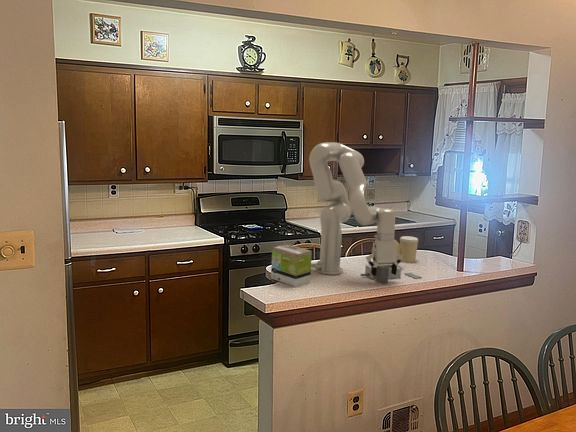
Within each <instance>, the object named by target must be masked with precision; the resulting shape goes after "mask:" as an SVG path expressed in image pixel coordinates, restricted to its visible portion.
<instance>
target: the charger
mask: <svg viewBox="0 0 576 432" xmlns="http://www.w3.org/2000/svg"><path fill="white" fill-rule="evenodd" d="M388 276H389V268H388V267H387V266H385V265H384V266H377V271H376V280H375V282H376V281H377V283H378V284H379V283H383V284H389V279H388Z"/></svg>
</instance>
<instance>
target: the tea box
mask: <svg viewBox="0 0 576 432" xmlns="http://www.w3.org/2000/svg"><path fill="white" fill-rule="evenodd" d="M312 255H313V253H312V250H311V249H310V250H309V249H306V248H303V247H299V246H295V245H291V244H283V245H278V246H274V247H271V267H270V269H271V272H270V273H271V274H270V279H271V280H274V281H277V282H280V283H284V284H286V285H289V286H291V287H294V288H297V287H301V286H303V285H307V284H310V283H311V271H312V267H311V263H312Z"/></svg>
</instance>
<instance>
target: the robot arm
mask: <svg viewBox="0 0 576 432" xmlns="http://www.w3.org/2000/svg"><path fill="white" fill-rule="evenodd" d="M308 160H309V166H310V170H311V173H312V177H313V181H314V185H315V186H314V187H315V189H316V194H317V197H318V200H320V201H321V202H323V203H330V204H328V205H326V206H324V207H323V208H322V210H321V211H320V217H319V219H320V226H321V228H320V229H321V230H320V234H321V235H320V254H319V260H317V262H315V263H314V262H311V268H314V269H315V271H316V272H317V273H319V274H323V275H329V276H330V275H333V276H334V275H340V274H343V273H344V269H343V268H342V267H341V255H342V254H341V252H342V238H343V237H342V236H343V232H342V227H341V224H342V223H345V222H347V221H348V220H349V219H350V218H351V214H353V217H354V219H355V220H356V222H357V223H358V224H360V225H361V226H369V225H372V224H377V226H376V234H374V238H375V240H374V244H373V245H374V249H373V253H372V252H371V254H369V255H367V256H366V258H365V259H366V261H367V263H368V265H370V266H371V274H372V275H373V276H376V271H377V268H376V265H379V264H378V263H393V264H392V269H391V273H392V274H394V275H396V272H397V267H399V264H400V263H401V262H402V261H401V259H402V257H403V256H402V255H401V254H399V253H397V243H396V241H397V240H396V239H395V227H396V211H395V209H392V208H389V207H388V208H387V207H386V208H383V207H379V206H376V205H375V206H374V205H371V206H368V205H367V202H366V199H365V190H366V187H367V184H368V181H367V178H366V177H365V175H364V172H363V169H362V168H363V167H364V165H365V159H364V156H363V155H362V153H360V152H359V151H357V150H355V149H352V148H350V147H348V146H346V145H345V144H342V143H340V142H337V141H336V142H330V141H329V142H320V143H318V144H316V145H315V146H314V147H313V148H312V150H311V152H310V153H309V157H308ZM333 161H335V162H336V163H338V165H339V166H338V167H339V168H340V171H341V173H342V175H343V179H344V180H345V183H346V185H347V187H348V190H349V191H348V194H347V189H346V187H345V185H344V184H343V183H342V182H341V181H339V180H335V179H334V178H333V174H332V171H331V168H330V167H329V164H328V162H333ZM397 256H398V259H397Z"/></svg>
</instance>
